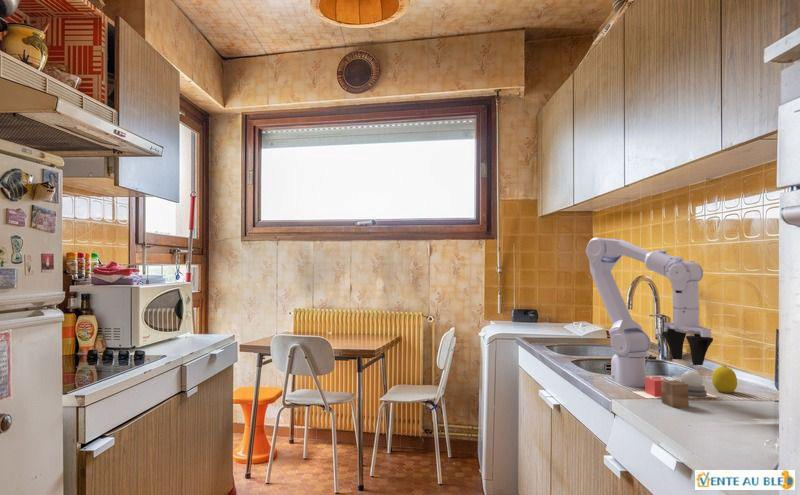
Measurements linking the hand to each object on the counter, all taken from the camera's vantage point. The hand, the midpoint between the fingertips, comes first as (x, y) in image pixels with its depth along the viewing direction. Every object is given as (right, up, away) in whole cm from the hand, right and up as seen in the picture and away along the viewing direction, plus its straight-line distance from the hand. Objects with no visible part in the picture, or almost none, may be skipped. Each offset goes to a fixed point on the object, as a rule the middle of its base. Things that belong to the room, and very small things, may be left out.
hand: (687, 362), depth 118 cm
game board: (-1, -10, -3) cm, 10 cm away
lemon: (+14, -11, +6) cm, 18 cm away
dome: (+3, -8, +3) cm, 9 cm away
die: (-6, -9, +2) cm, 11 cm away
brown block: (-7, -9, -7) cm, 14 cm away
